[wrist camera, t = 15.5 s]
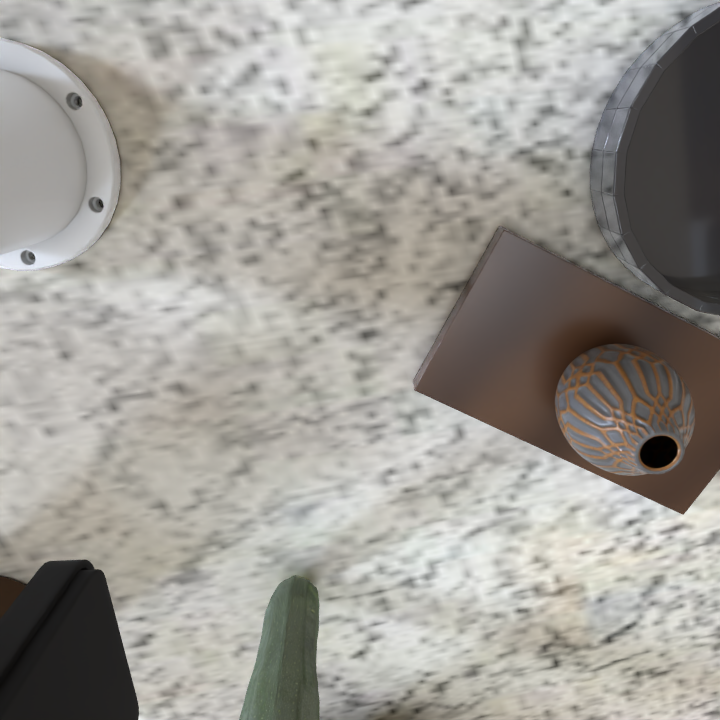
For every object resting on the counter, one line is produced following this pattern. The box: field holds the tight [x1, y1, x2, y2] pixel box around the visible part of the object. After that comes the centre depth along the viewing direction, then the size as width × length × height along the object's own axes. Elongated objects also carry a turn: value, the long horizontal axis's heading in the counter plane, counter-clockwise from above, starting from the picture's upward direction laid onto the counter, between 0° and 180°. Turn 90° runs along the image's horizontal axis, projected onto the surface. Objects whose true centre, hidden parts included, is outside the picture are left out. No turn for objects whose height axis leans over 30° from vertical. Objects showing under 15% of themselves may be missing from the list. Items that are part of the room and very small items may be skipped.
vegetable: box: [239, 576, 319, 720], centre depth 37 cm, size 4×4×20 cm
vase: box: [555, 344, 695, 476], centre depth 34 cm, size 7×7×9 cm
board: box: [413, 226, 720, 514], centre depth 39 cm, size 20×11×2 cm, turn 64°
